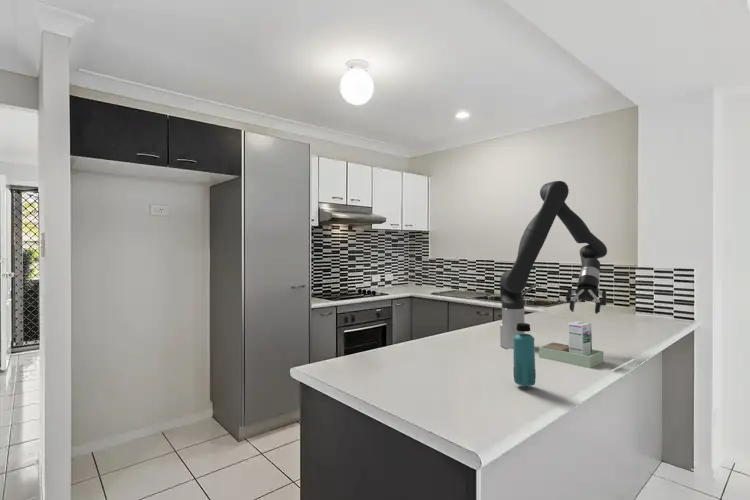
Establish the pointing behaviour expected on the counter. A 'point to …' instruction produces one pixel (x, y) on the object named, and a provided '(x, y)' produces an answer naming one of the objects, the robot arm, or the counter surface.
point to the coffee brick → (558, 347)
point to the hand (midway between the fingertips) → (584, 311)
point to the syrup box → (580, 338)
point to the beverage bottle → (524, 356)
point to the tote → (571, 356)
